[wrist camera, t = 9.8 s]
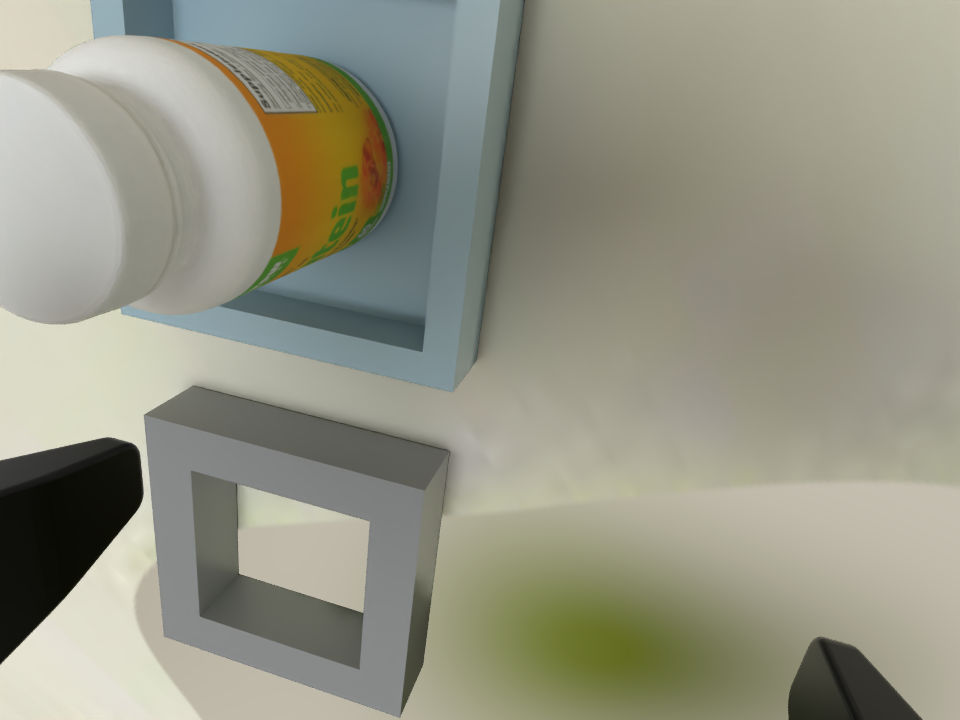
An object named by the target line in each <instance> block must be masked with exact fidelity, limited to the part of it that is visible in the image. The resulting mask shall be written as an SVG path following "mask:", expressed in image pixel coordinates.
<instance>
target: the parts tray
mask: <svg viewBox="0 0 960 720" xmlns="http://www.w3.org/2000/svg"><path fill="white" fill-rule="evenodd" d="M524 2H525V0H90V3H91V13H92V23H93V33H94V39H96V38H100V37H106V36H116V35H134V36H150V37H158V38H165V39H174V40H182V41H190V42H198V43H207V44H215V45H224V46H232V47H241V48H249V49H258V50H265V51H273V52H280V53H289V54H298V55H303V56H309V57H314V58H318V59H322V60H326V61H328V62H331V63H333V64H336V65H338V66H339V67H341V68H343V69H345V70H346V71H348V72H349V73H351V74H352V75H353V76H355V77H356V78H357V79H358V80H359V81H360V82H362V84H363V85H364V86H365V87H366V88H367V89H368V90H369V91H370V92H371V93H372V95H373V96H374V97H375V98H376V100H377V101H378V103H379V104H380V106H381V107H382V109H383V111H384V113H385V114H386V117H387V119H388V121H389V123H390V126H391V129H392V132H393V135H394V139H395V143H396V149H397V159H398V174H397V182H396V188H395V191H394V195H393V198H392V201H391V204H390V206H389V208H388V210H387V212H386V214H385V215H384V217H383V219H382V220H381V221H380V223H379V224H378V225H377V227H376V228H375V229H374V230H373V231H372V232H371V233H369V234H368V235H367V236H366V237H365V238H363V239H362V240H361V241H359V242H357V243H356V244H354V245H352V246H350V247H349V248H346V249H344V250H342V251H340V252H338V253H335V254H333V255H330V256H328V257H326V258H324V259H322V260H319V261H317V262H315V263H312V264H310V265H308V266H306V267H303V268H301V269H299V270H297V271H294V272H292V273H290V274H288V275H285V276H283V277H281V278H279V279H276V280H274V281H272V282H270V283H268V284H266V285H264V286H261V287H259V288H257V289H255V290H253V291H251V292H249V293H246V294H244V295H242V296H240V297H238V298H236V299H234V300H231V301H229V302H227V303H224V304H222V305H219V306H217V307H214V308H212V309H209V310H205V311H202V312H198V313H193V314H186V315H162V314H156V313H151V312H147V311H144V310H140V309H136V308H133V307H131V306H128V305H127V306H124V307H121V314H124V315H128V316H132V317H136V318H141V319H145V320H149V321H153V322H158V323H162V324H166V325H170V326H175V327H179V328H183V329H187V330H191V331H196V332H200V333H204V334H208V335H213V336H217V337H221V338H225V339H230V340H234V341H238V342H242V343H246V344H251V345H255V346H259V347H263V348H268V349H272V350H276V351H280V352H285V353H289V354H293V355H297V356H301V357H306V358H310V359H314V360H318V361H323V362H327V363H331V364H335V365H340V366H344V367H348V368H352V369H356V370H361V371H365V372H369V373H373V374H378V375H382V376H386V377H390V378H395V379H399V380H403V381H407V382H411V383H416V384H420V385H424V386H428V387H433V388H437V389H441V390H445V391H449V392H453V391H454V390H455V389H456V387H457V386H458V385H459V383H460V382H461V381H462V379H463V378H464V377H465V375H466V374H467V373H468V371H469V370H470V369H471V367H472V366H473V365H474V363H475V362H476V359H477V352H478V344H479V337H480V329H481V322H482V314H483V307H484V299H485V292H486V285H487V277H488V270H489V262H490V255H491V247H492V240H493V232H494V225H495V218H496V210H497V203H498V195H499V188H500V180H501V173H502V165H503V158H504V151H505V143H506V136H507V128H508V121H509V113H510V106H511V98H512V91H513V84H514V76H515V69H516V61H517V54H518V46H519V39H520V31H521V24H522V17H523V9H524Z"/></svg>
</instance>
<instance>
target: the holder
mask: <svg viewBox="0 0 960 720" xmlns="http://www.w3.org/2000/svg"><path fill="white" fill-rule="evenodd" d="M144 421H145V432H146V443H147V454H148V465H149V476H150V487H151V498H152V509H153V520H154V531H155V542H156V553H157V564H158V574H159V586H160V597H161V608H162V619H163V630H164V637H167V638H170V639H173V640H176V641H179V642H181V643H184V644H187V645H190V646H193V647H196V648H199V649H202V650H205V651H208V652H211V653H213V654H217V655H219V656H222V657H225V658H228V659H231V660H234V661H237V662H240V663H243V664H245V665H248V666H251V667H254V668H257V669H260V670H263V671H266V672H269V673H272V674H274V675H277V676H280V677H283V678H286V679H289V680H292V681H295V682H298V683H301V684H303V685H306V686H309V687H312V688H315V689H318V690H321V691H324V692H327V693H330V694H333V695H336V696H338V697H341V698H344V699H347V700H350V701H353V702H356V703H359V704H362V705H364V706H367V707H370V708H373V709H376V710H379V711H382V712H385V713H388V714H391V715H394V716H396V717H399V718H400V716H401V714H402V712H403V710H404V707H405V705H406V703H407V700H408V698H409V696H410V694H411V691H412V689H413V687H414V684H415V682H416V680H417V677H418V675H419V673H420V671H421V668H422V666H423V662H424V653H425V645H426V637H427V629H428V621H429V613H430V605H431V597H432V588H433V581H434V573H435V565H436V556H437V548H438V540H439V532H440V524H441V517H442V509H443V500H444V492H445V484H446V476H447V468H448V460H449V452H450V451H446V450H442V449H438V448H434V447H430V446H427V445H423V444H419V443H415V442H411V441H407V440H403V439H399V438H395V437H391V436H387V435H383V434H379V433H376V432H372V431H368V430H364V429H360V428H356V427H352V426H348V425H344V424H340V423H336V422H332V421H329V420H325V419H321V418H317V417H313V416H309V415H305V414H301V413H297V412H293V411H289V410H285V409H282V408H278V407H274V406H270V405H266V404H262V403H258V402H254V401H250V400H246V399H242V398H238V397H235V396H231V395H227V394H223V393H219V392H215V391H211V390H207V389H203V388H199V387H195V386H192V387H190V388H189V389H187V390H185V391H184V392H182V393H180V394H179V395H177V396H175V397H173V398H172V399H170V400H168V401H167V402H165V403H163V404H162V405H160V406H158V407H157V408H155V409H153V410H151V411H150V412H148V413H146V414H145V415H144ZM236 483H237V484H241V485H244V486H248V487H251V488H255V489H258V490H262V491H265V492H269V493H272V494H276V495H279V496H283V497H286V498H290V499H293V500H297V501H300V502H304V503H307V504H311V505H314V506H318V507H321V508H325V509H328V510H332V511H336V512H339V513H343V514H346V515H350V516H353V517H357V518H360V519H364V520H367V521H370V529H369V544H368V558H367V572H366V586H365V600H364V613H361V612H358V611H355V610H352V609H349V608H345V607H342V606H339V605H336V604H333V603H329V602H326V601H323V600H320V599H317V598H314V597H310V596H307V595H304V594H301V593H298V592H294V591H291V590H288V589H285V588H282V587H279V586H275V585H272V584H269V583H266V582H263V581H260V580H256V579H253V578H250V577H247V576H244V575H240V574H239V569H238V568H239V567H238V531H237V495H236Z"/></svg>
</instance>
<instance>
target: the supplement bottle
mask: <svg viewBox="0 0 960 720" xmlns="http://www.w3.org/2000/svg"><path fill="white" fill-rule="evenodd" d="M397 174H398V159H397V149H396V143H395V139H394V135H393V132H392V129H391V126H390V123H389V121H388V119H387V117H386V114H385V113H384V111H383V109H382V107H381V106H380V104H379V103H378V101H377V100H376V98H375V97H374V96H373V95H372V93H371V92H370V91H369V90H368V89H367V88H366V87H365V86H364V85H363V84H362V82H360V81H359V80H358V79H357V78H356V77H355V76H353V75H352V74H351V73H349V72H348V71H346V70H345V69H343V68H341V67H339V66H338V65H336V64H333V63H331V62H328V61H326V60H322V59H318V58H314V57H309V56H303V55H298V54H289V53H280V52H273V51H265V50H258V49H249V48H241V47H232V46H224V45H215V44H207V43H198V42H190V41H182V40H174V39H165V38H158V37H150V36H134V35H116V36H106V37H100V38H96V39H93V40H89V41H87V42H84V43H81V44H79V45H77V46H75V47H73V48H71V49H70V50H68V51H67V52H65V53H64V54H62V55H61V56H60V57H59V58H57V59H56V60H55V61H54V62H53V63H52V64H51V65H50V66H49V67H48V68H47V70H39V69H34V70H0V306H1V307H2V308H4V309H6V310H7V311H9V312H11V313H13V314H15V315H17V316H19V317H22V318H25V319H28V320H31V321H34V322H39V323H45V324H70V323H77V322H80V321H83V320H86V319H89V318H92V317H95V316H97V315H100V314H103V313H106V312H110V311H113V310H116V309H119V308H121V307H124V306H127V305H128V306H131V307H133V308H136V309H140V310H144V311H147V312H151V313H156V314H162V315H186V314H193V313H198V312H202V311H205V310H209V309H212V308H214V307H217V306H219V305H222V304H224V303H227V302H229V301H231V300H234V299H236V298H238V297H240V296H242V295H244V294H246V293H249V292H251V291H253V290H255V289H257V288H259V287H261V286H264V285H266V284H268V283H270V282H272V281H274V280H276V279H279V278H281V277H283V276H285V275H288V274H290V273H292V272H294V271H297V270H299V269H301V268H303V267H306V266H308V265H310V264H312V263H315V262H317V261H319V260H322V259H324V258H326V257H328V256H330V255H333V254H335V253H338V252H340V251H342V250H344V249H346V248H349V247H350V246H352V245H354V244H356V243H357V242H359V241H361V240H362V239H363V238H365V237H366V236H367V235H368V234H369V233H371V232H372V231H373V230H374V229H375V228H376V227H377V225H378V224H379V223H380V221H381V220H382V219H383V217H384V215H385V214H386V212H387V210H388V208H389V206H390V204H391V201H392V198H393V195H394V191H395V188H396V182H397Z"/></svg>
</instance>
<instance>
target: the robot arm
mask: <svg viewBox="0 0 960 720" xmlns="http://www.w3.org/2000/svg"><path fill="white" fill-rule="evenodd" d="M143 494H144V490H143V479H142V469H141V459H140V452H139V450H138V448H137V447H136V446H135V445H134V444H132V443H129V442H126V441H122V440H119V439H115V438H108V437H106V438H101V439H96V440H92V441H87V442H82V443H78V444H73V445H69V446H64V447H60V448H55V449H51V450H46V451H42V452H37V453H32V454H28V455H23V456H19V457H14V458H10V459H5V460H1V461H0V664H1V663H2V662H3V661H4V660H5V659H6V658H7V657H8V656H9V655H10V654H11V653H12V652H13V651H14V650H15V649H16V648H17V647H18V646H19V645H20V644H21V643H22V642H23V641H24V640H25V639H26V638H27V637H28V636H29V635H30V634H31V633H32V632H33V631H34V630H35V629H36V628H37V627H38V626H39V625H40V624H41V623H42V622H43V621H44V620H45V619H46V617H47V616H48V615H49V614H50V613H51V612H52V611H53V610H54V609H55V608H56V607H57V606H58V605H59V604H60V603H61V602H62V601H63V600H64V598H65V597H66V596H67V595H68V594H69V593H70V591H71V590H72V589H73V588H74V587H75V586H76V584H77V583H78V582H79V581H80V580H81V578H82V577H83V576H84V575H85V574H86V572H87V571H88V570H89V569H90V567H91V566H92V565H93V564H94V563H95V561H96V560H97V559H98V558H99V557H100V555H101V554H102V553H103V552H104V550H105V549H106V548H107V547H108V546H109V544H110V543H111V542H112V541H113V539H114V538H115V537H116V536H117V535H118V533H119V532H120V531H121V530H122V528H123V527H124V526H125V525H126V524H127V522H128V521H129V520H130V519H131V518H132V516H133V515H134V514H135V513H136V511H137V510H138V508H139V507H140V505H141V502H142V499H143ZM788 714H789V720H922V718H921V717H920V716H919V715H918V714H917V713H916V712H915V711H914V710H913V709H912V707H911V706H910V705H909V704H908V703H907V702H906V701H905V700H904V699H903V698H902V696H901V695H900V694H899V693H898V692H897V691H896V690H895V689H894V688H893V687H892V686H891V684H890V683H889V682H888V681H887V680H886V679H885V678H884V677H883V676H882V675H881V674H880V672H879V671H878V670H877V669H876V668H875V667H874V666H873V665H872V664H871V662H870V661H869V660H868V659H867V658H866V657H865V656H864V655H863V654H862V653H861V652H860V651H859V650H858V649H857V648H856V647H854V646H852V645H850V644H846V643H842V642H839V641H836V640H832V639H828V638H825V637H817V638H815V639H814V640H813V641H812V642H811V643H810V645H809V647H808V649H807V651H806V654H805V656H804V658H803V661H802V663H801V665H800V668H799V670H798V672H797V674H796V677H795V679H794V681H793V683H792V686H791V689H790V693H789V701H788Z"/></svg>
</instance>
